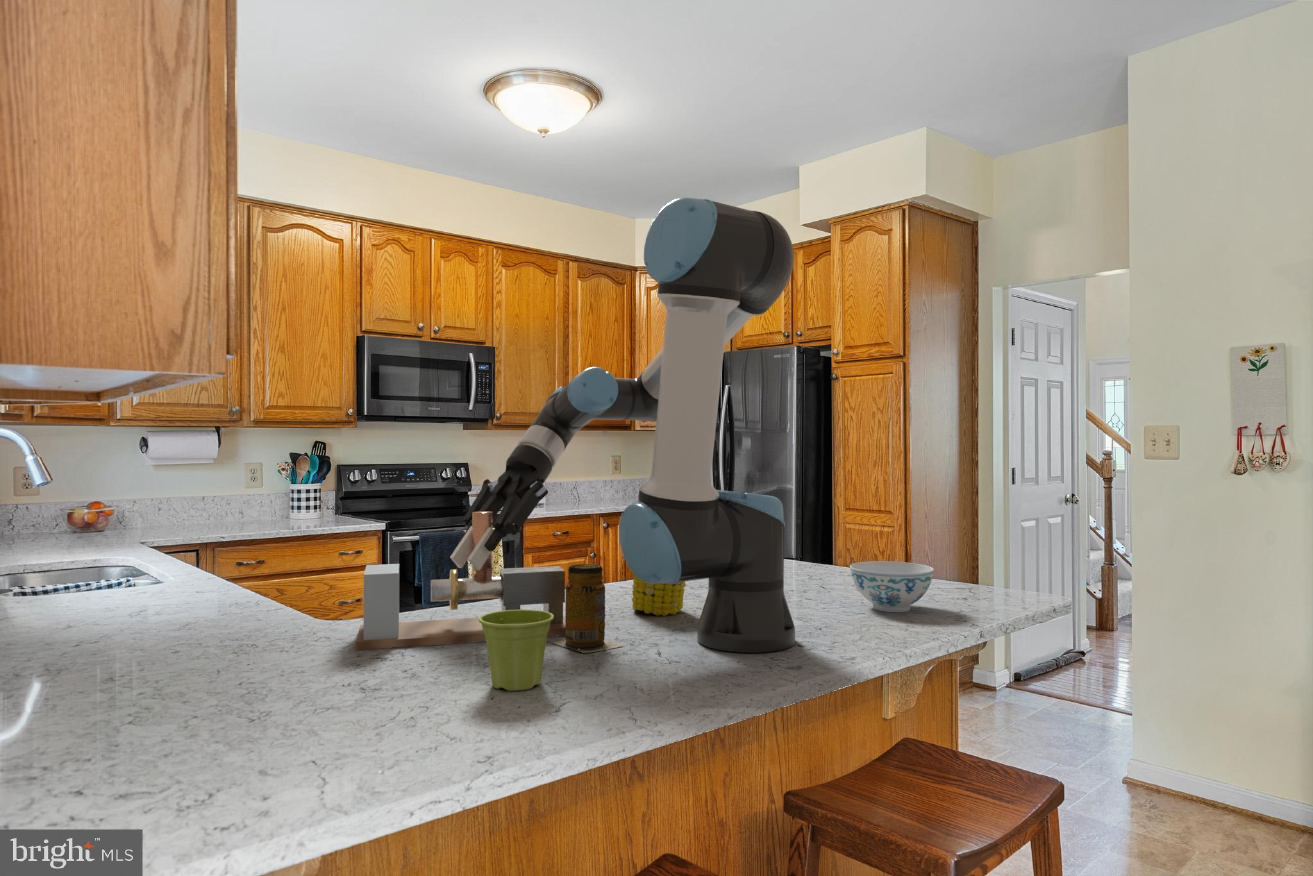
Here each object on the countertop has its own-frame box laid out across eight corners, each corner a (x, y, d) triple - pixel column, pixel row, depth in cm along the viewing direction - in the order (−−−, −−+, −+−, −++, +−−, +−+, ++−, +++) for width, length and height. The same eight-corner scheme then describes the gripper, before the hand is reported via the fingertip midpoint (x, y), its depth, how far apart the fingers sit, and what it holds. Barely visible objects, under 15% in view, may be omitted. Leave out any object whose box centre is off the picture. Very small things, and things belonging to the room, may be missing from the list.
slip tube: (555, 599, 138) (555, 509, 138) (562, 607, 132) (562, 512, 132) (430, 606, 132) (430, 511, 132) (431, 614, 125) (432, 515, 126)
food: (631, 615, 151) (684, 618, 151) (630, 614, 140) (688, 617, 140) (635, 534, 155) (687, 537, 155) (634, 526, 143) (691, 529, 143)
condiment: (591, 636, 128) (591, 561, 128) (623, 647, 122) (623, 567, 122) (552, 644, 124) (552, 565, 124) (583, 655, 117) (583, 572, 117)
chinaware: (880, 597, 161) (880, 559, 161) (949, 609, 149) (949, 567, 149) (833, 607, 151) (833, 566, 151) (904, 621, 140) (903, 576, 140)
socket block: (399, 623, 132) (399, 563, 132) (398, 637, 122) (398, 573, 122) (366, 625, 130) (366, 565, 130) (363, 640, 121) (363, 574, 121)
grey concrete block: (559, 616, 137) (559, 566, 137) (564, 623, 132) (565, 570, 132) (499, 620, 134) (499, 568, 134) (503, 627, 129) (503, 573, 129)
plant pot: (473, 678, 105) (473, 611, 105) (544, 671, 109) (544, 606, 109) (484, 699, 97) (484, 627, 97) (561, 691, 100) (561, 621, 100)
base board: (558, 619, 141) (558, 612, 141) (572, 635, 129) (572, 627, 129) (360, 632, 131) (360, 624, 131) (355, 650, 120) (356, 642, 120)
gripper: (580, 473, 140) (514, 583, 125) (510, 471, 148) (441, 573, 134) (561, 442, 135) (490, 552, 121) (490, 442, 144) (416, 545, 130)
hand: (464, 563), depth 128 cm, fingers closed on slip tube, 3 cm apart
